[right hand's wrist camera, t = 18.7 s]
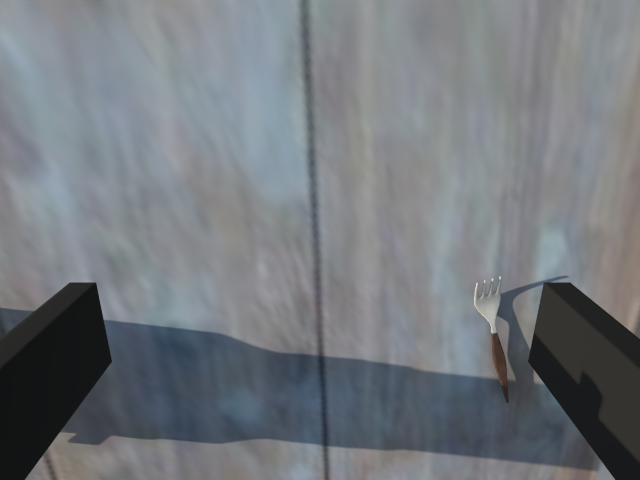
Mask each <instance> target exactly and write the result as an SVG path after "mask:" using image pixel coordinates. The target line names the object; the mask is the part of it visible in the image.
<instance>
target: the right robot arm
mask: <svg viewBox="0 0 640 480" xmlns="http://www.w3.org/2000/svg"><path fill="white" fill-rule="evenodd" d="M111 362H112V360H111V355H110V350H109V345H108V340H107V335H106V330H105V325H104V320H103V315H102V310H101V305H100V300H99V295H98V290H97V285H96V283H69V284H68V285H66V286H65V287H64V288H63V289H61V290H60V291H59V292H58V293H57V294H55V295H54V296H53V297H52V298H50V299H49V300H48V301H47V302H45V303H44V304H43V305H42V306H40V307H39V308H38V309H37V310H36V311H34V312H33V313H32V314H31V315H29V316H28V317H27V318H26V319H24V320H23V321H22V322H21V323H20V324H18V325H17V326H16V327H15V328H13V329H12V330H11V331H10V332H8V333H7V334H6V335H5V336H4V337H2V338H1V339H0V480H25V479H26V477H27V476H28V474H29V473H30V472H31V470H32V469H33V468H34V466H35V465H36V464H37V462H38V461H39V460H40V458H41V457H42V456H43V454H44V453H45V451H46V450H47V449H48V447H49V446H50V445H51V443H52V442H53V441H54V439H55V438H56V437H57V435H58V434H59V432H60V431H61V430H62V428H63V427H64V426H65V424H66V423H67V422H68V420H69V419H70V418H71V416H72V415H73V414H74V412H75V411H76V409H77V408H78V407H79V405H80V404H81V403H82V401H83V400H84V399H85V397H86V396H87V395H88V393H89V392H90V390H91V389H92V388H93V386H94V385H95V384H96V382H97V381H98V380H99V378H100V377H101V376H102V374H103V373H104V372H105V370H106V369H107V367H108V366H109V365H110V363H111ZM528 362H529V363H530V365H531V366H532V367H533V369H534V370H535V372H536V373H537V374H538V376H539V377H540V378H541V380H542V381H543V382H544V384H545V385H546V386H547V388H548V389H549V391H550V392H551V393H552V395H553V396H554V397H555V399H556V400H557V401H558V403H559V404H560V405H561V407H562V408H563V409H564V411H565V412H566V414H567V415H568V416H569V418H570V419H571V420H572V422H573V423H574V424H575V426H576V427H577V428H578V430H579V431H580V432H581V434H582V435H583V437H584V438H585V439H586V441H587V442H588V443H589V445H590V446H591V447H592V449H593V450H594V451H595V453H596V454H597V456H598V457H599V458H600V460H601V461H602V462H603V464H604V465H605V466H606V468H607V469H608V470H609V472H610V473H611V474H612V476H613V477H614V478H615V480H640V339H639V338H638V337H636V336H635V335H634V334H633V333H632V332H630V331H629V330H628V329H627V328H625V327H624V326H623V325H622V324H620V323H619V322H618V321H617V320H616V319H614V318H613V317H612V316H611V315H609V314H608V313H607V312H606V311H604V310H603V309H602V308H601V307H600V306H598V305H597V304H596V303H595V302H593V301H592V300H591V299H590V298H588V297H587V296H586V295H585V294H583V293H582V292H581V291H580V290H579V289H577V288H576V287H575V286H574V285H572V284H571V283H544V285H543V290H542V295H541V300H540V305H539V310H538V315H537V320H536V325H535V330H534V335H533V340H532V345H531V350H530V355H529V360H528Z"/></svg>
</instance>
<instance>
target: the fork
mask: <svg viewBox="0 0 640 480" xmlns="http://www.w3.org/2000/svg"><path fill="white" fill-rule="evenodd" d="M500 283H501V276H500V277H499V281H498V285H497V289H496V292H495V293H493V278H492V281H491V285H490V289H489V293H488V294H487V295H486V290H485V284H486V281H485V280H484V284H483V289H482V294H481V296H478V282H477V284H476V289H475V296H474V305H475V307H476V309H477V310H478V311H479V312H480V313H481V314H482V315H483V316H484V317H485V318H486V319H487V320H488V321H489V323H490V325H491V331H492V351H493V360H494V364H495V368H496V371H497V373H498V376H499V379H500V382H501V386H502V389H503V393H504V396H505V399H506V402H507V403H508V402H509V400H508V386H507V369H506V360H505V356H504V352H503V349H502V346H501V343H500V340H499V337H498V334H497V331H496V327H495V319H496V315H497V312H498V309H499V306H500V301H501V293H500Z"/></svg>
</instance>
